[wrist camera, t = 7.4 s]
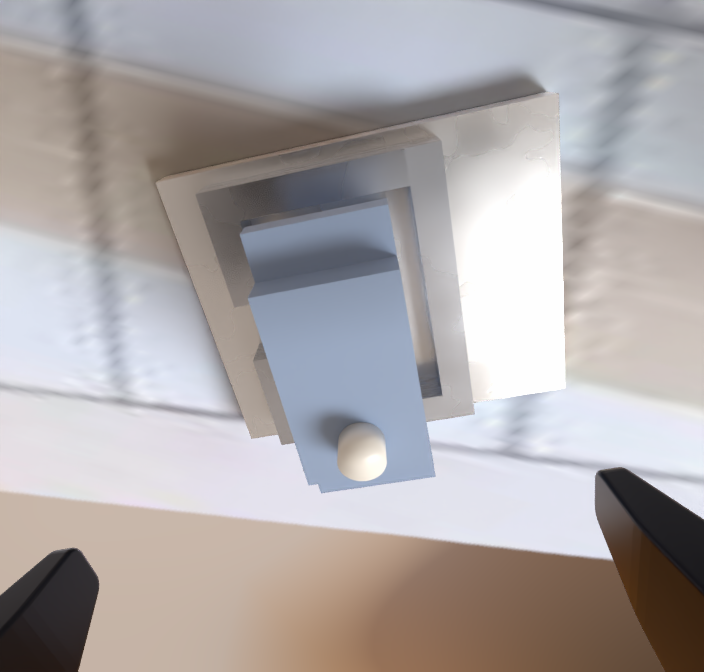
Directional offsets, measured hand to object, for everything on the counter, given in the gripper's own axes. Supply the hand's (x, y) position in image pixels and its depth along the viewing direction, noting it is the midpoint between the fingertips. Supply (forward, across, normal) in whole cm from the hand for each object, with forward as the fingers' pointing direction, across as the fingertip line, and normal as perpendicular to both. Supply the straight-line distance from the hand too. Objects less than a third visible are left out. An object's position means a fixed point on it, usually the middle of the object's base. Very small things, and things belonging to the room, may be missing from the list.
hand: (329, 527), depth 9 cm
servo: (+10, 0, 0) cm, 10 cm away
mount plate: (+11, -1, 0) cm, 11 cm away
